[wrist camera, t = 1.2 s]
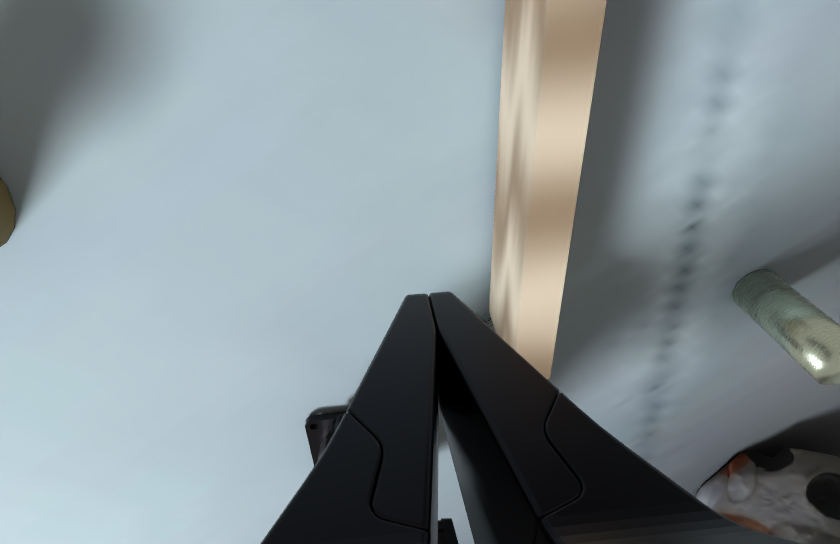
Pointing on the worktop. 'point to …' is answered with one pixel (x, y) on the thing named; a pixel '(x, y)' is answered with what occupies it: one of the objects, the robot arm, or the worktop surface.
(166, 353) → the worktop surface
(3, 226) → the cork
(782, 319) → the gate posts
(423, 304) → the robot arm
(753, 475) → the grey lumpy mass
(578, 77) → the light brown wooden plank
